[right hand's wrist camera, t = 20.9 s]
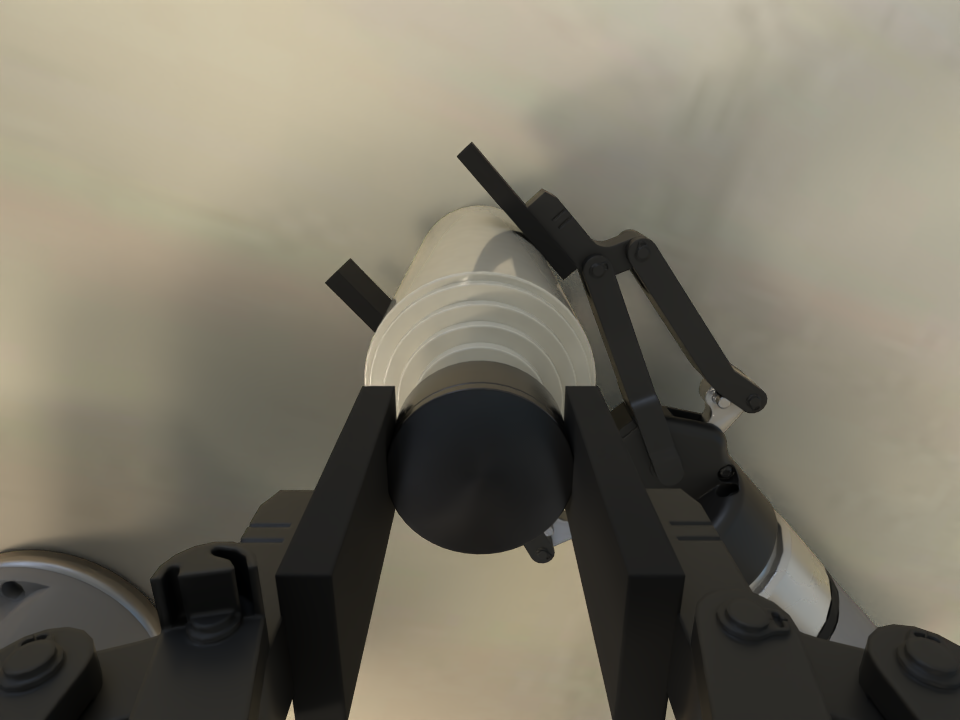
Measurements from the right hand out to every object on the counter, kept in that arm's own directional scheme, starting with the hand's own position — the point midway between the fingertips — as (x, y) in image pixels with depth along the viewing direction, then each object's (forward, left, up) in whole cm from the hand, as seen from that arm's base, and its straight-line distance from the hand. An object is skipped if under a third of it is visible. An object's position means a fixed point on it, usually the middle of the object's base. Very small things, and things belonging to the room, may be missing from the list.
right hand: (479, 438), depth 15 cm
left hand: (-2, +5, -13) cm, 14 cm away
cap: (0, 0, +1) cm, 1 cm away
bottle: (0, 0, -19) cm, 19 cm away
